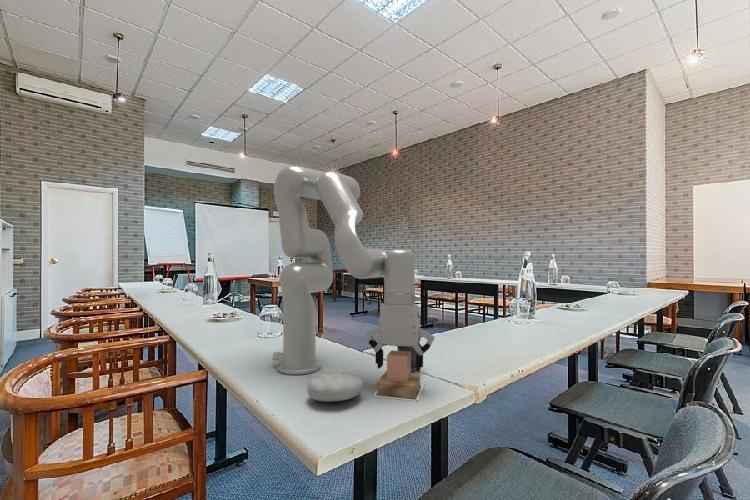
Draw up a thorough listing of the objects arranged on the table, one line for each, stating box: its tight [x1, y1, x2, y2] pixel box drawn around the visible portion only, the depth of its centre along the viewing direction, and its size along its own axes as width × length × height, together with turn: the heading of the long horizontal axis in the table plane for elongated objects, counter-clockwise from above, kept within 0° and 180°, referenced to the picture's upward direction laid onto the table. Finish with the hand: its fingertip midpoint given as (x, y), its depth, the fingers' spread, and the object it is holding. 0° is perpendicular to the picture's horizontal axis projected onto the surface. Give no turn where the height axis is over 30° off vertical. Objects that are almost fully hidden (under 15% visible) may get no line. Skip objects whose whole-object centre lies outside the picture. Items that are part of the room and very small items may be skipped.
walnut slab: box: [376, 370, 421, 399], centre depth 88 cm, size 9×9×3 cm
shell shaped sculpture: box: [307, 372, 364, 403], centre depth 82 cm, size 13×13×6 cm
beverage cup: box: [396, 346, 417, 373], centre depth 102 cm, size 7×7×20 cm
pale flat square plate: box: [371, 383, 425, 403], centre depth 88 cm, size 11×11×1 cm
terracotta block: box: [386, 349, 411, 382], centre depth 88 cm, size 5×5×6 cm
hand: (399, 368), depth 88 cm, fingers open, 9 cm apart
